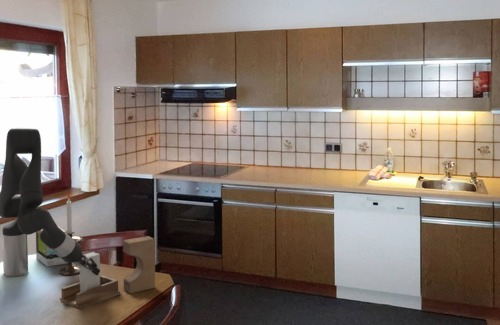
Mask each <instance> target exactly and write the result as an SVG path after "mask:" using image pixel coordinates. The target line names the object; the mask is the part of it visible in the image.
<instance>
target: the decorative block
mask: <svg viewBox="0 0 500 325" xmlns="http://www.w3.org/2000/svg"><path fill="white" fill-rule="evenodd" d="M122 244H123V247H122V248H123V253H125V254H126V255H128V256H129V257H130V256H131V257H132V256H133V257H134V258H135V259H136V267H135V269H134V270H133V272H132V273H131V274H130V275H128V276H126V277H124V278H123V290H124V291H125V292H127V293H129V295H132V294H136V293H139V292H143V291H144V292H145V291H147V290H152V289H155V288H156V240H155V238H154V237H151V236H149V235H146V236H141V237H135V238H128V239H123V242H122Z"/></svg>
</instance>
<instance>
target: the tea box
mask: <svg viewBox="0 0 500 325" xmlns="http://www.w3.org/2000/svg"><path fill="white" fill-rule="evenodd" d="M57 226H58V227H59V228H60V229H61V230H62V231H63V232H64V233H66V232H67V230H66V229H65V228H63V227H61V226H59V225H57ZM42 230H43V229H42ZM42 230H40V231H37V232H35V251H36V252H35V253H36V254H35V255H36V256H35V257H36V259H37V260H38V261H40V262H41V263H42V264H43V265H44V266H46V267H53V266H59V265H65V264H68V263H67V262H65V261H64V260H63V259H61V258H60V257H59V256H58V255H56V254H55V253H54V252H53V251H52V250H51V249H50V248H49V247H48V246H47V245H45V244H44V243H43V242H42V241H41V239H40V233H41V231H42Z"/></svg>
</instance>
